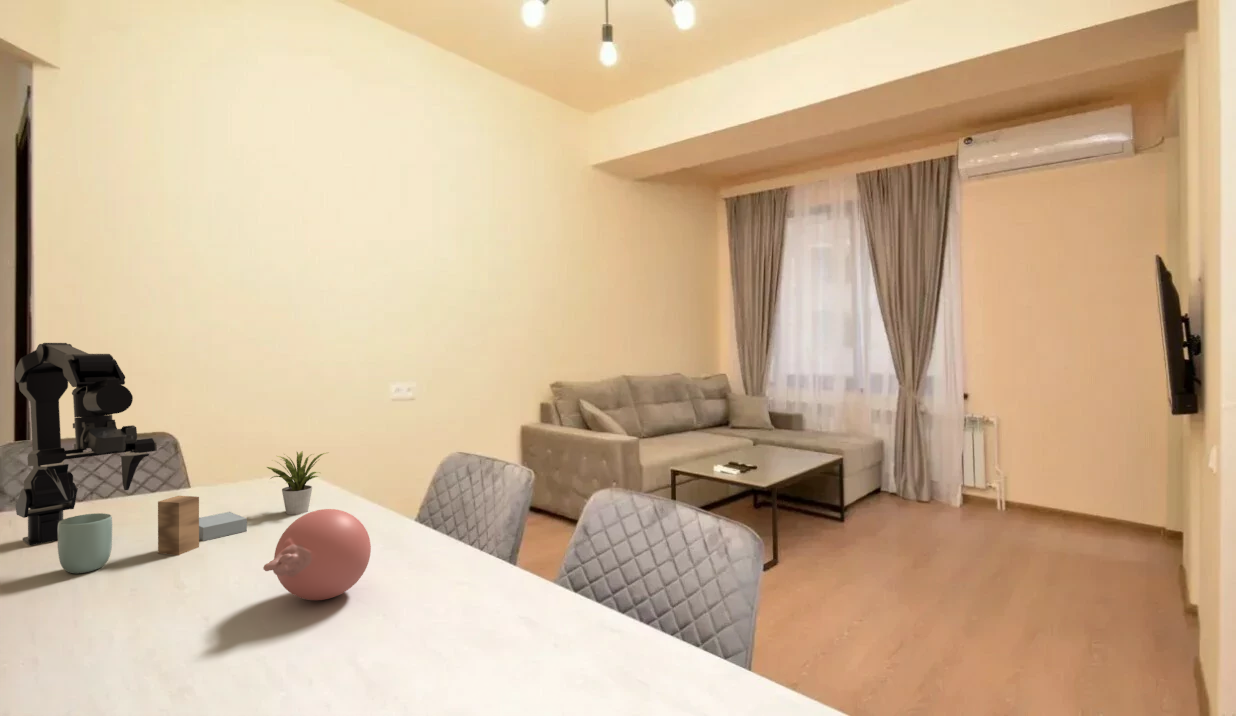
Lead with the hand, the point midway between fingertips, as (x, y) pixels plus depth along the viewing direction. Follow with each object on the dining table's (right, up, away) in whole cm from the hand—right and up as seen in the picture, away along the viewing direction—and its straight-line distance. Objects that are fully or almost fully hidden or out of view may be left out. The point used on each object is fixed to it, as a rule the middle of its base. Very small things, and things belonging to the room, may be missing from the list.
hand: (98, 495), depth 119 cm
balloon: (+50, -16, -14) cm, 54 cm away
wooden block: (+9, -14, +9) cm, 19 cm away
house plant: (+19, -14, +40) cm, 47 cm away
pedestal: (+9, -14, +22) cm, 27 cm away
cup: (-1, -14, -2) cm, 14 cm away
